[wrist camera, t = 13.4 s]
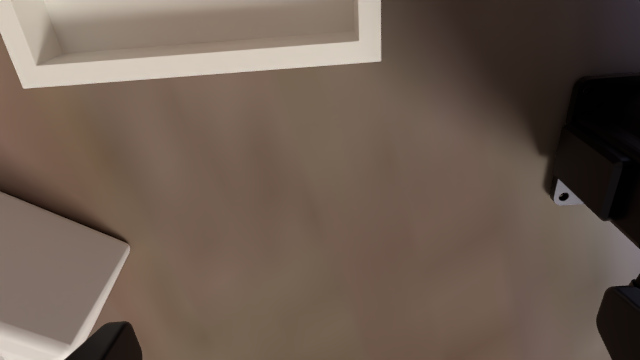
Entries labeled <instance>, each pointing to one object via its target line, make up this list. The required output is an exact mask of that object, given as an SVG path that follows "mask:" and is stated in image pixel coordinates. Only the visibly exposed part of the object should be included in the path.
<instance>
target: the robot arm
mask: <svg viewBox="0 0 640 360" xmlns="http://www.w3.org/2000/svg"><path fill="white" fill-rule="evenodd" d="M587 85H590V88H589V90H588V91H587V92H585V93H583V90H584V88H585V87H586V86H587ZM553 174H554V178H553V182H552V187H551V192H550V197H551V199H552V200H553V201H554V202H555V203H556V204H558V205H573V204H585V205H586V206H587V207H588V208H589V209H590V210H591V211H593V212H594V213H595V214H596V215H597V216H598V217H599V218H600V219H601V220H602V221H610V222H611V223H612V224H614V225H615V226H616V227H617V228H618V229H619V230H620V231H621V232H622V233H623V234H624V235H625V236H626V237H627V238H629V239H630V240H631V241H632V242H633V243H634V244H635V245H636V246H637V247H638V248H639V249H640V72H639V73H626V74H613V75H599V76H587V77H583V78H581V79H579V80H578V81H577V82H576V83H575V85H574V87H573V91H572V96H571V100H570V105H569V109H568V114H567V118H566V123H565V125H564V126H563V127H562V131H561V135H560V140H559V144H558V149H557V154H556V158H555V163H554V168H553ZM562 193H564V195H563V196H561V197H559V196H560V195H561V194H562ZM596 323H597V328H598V331H599V333H600V335H601V338H602V340H603V342H604V344H605V346H606V348H607V350H608V352H609V354H610V356H611V358H612V360H640V274H639V275H638V277H637V278H636V279H633V280H632V281H631V282H630V284H629V285H628V286H613V287H609V288H608V289H607V290H606V291H605V293H604V296H603V299H602V302H601V305H600V308H599V311H598V314H597V318H596ZM64 360H142V350H141V347H140V345H139V342H138V340H137V337H136V335H135V332H134V330H133V327H132V325H131V324H130V323H129V322H126V321H123V322H110V323H106V324H105V325H103V326H102V327H101V328H100V329H98V330H97V331H96V332H95V333H94V334H93V335H92V336H91V337H89V338H88V339H87V340H86V341H85V342H84V343H83V344H81V345H80V346H79V347H78V348H77V349H76V350H75V351H73V352H72V353H71V354H70V355H69V356H68V357H67V358H65V359H64Z"/></svg>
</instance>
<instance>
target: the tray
mask: <svg viewBox="0 0 640 360" xmlns="http://www.w3.org/2000/svg"><path fill="white" fill-rule="evenodd" d="M0 33H1V35H2V38H3V40H4V43H5V45H6V47H7V50H8V52H9V55H10V57H11V60H12V62H13V64H14V67H15V69H16V72H17V74H18V77H19V79H20V82H21V84H22V86H23V89H25V88H38V87H51V86H64V85H77V84H90V83H103V82H116V81H130V80H143V79H156V78H169V77H182V76H195V75H208V74H221V73H234V72H247V71H261V70H274V69H287V68H300V67H313V66H326V65H339V64H352V63H365V62H378V61H381V0H0Z"/></svg>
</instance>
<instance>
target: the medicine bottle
mask: <svg viewBox="0 0 640 360" xmlns="http://www.w3.org/2000/svg"><path fill="white" fill-rule="evenodd" d="M129 252H130V246H129V244H127V243H125V242H123V241H121V240H118V239H116V238H113V237H111V236H108V235H106V234H103V233H101V232H98V231H96V230H94V229H91V228H89V227H86V226H84V225H81V224H79V223H76V222H74V221H72V220H69V219H67V218H64V217H62V216H59V215H57V214H54V213H52V212H49V211H47V210H45V209H42V208H40V207H37V206H35V205H32V204H30V203H27V202H25V201H23V200H20V199H18V198H15V197H13V196H10V195H8V194H5V193H3V192H0V360H64V359H65V358H67V357H68V356H69V355H70V354H71V353H72V352H73V351H75V350H76V349H77V348H78V347H79V346H80V345H81V344H83V343H84V342H85V341H86V339H87V337H88V335H89V333H90V331H91V330H92V328H93V326H94V324H95V322H96V320H97V318H98V316H99V314H100V312H101V309H102V307H103V305H104V303H105V301H106V299H107V297H108V295H109V293H110V291H111V289H112V287H113V285H114V283H115V281H116V279H117V277H118V275H119V273H120V271H121V268H122V266H123V264H124V262H125V260H126V258H127V256H128V254H129Z"/></svg>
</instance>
